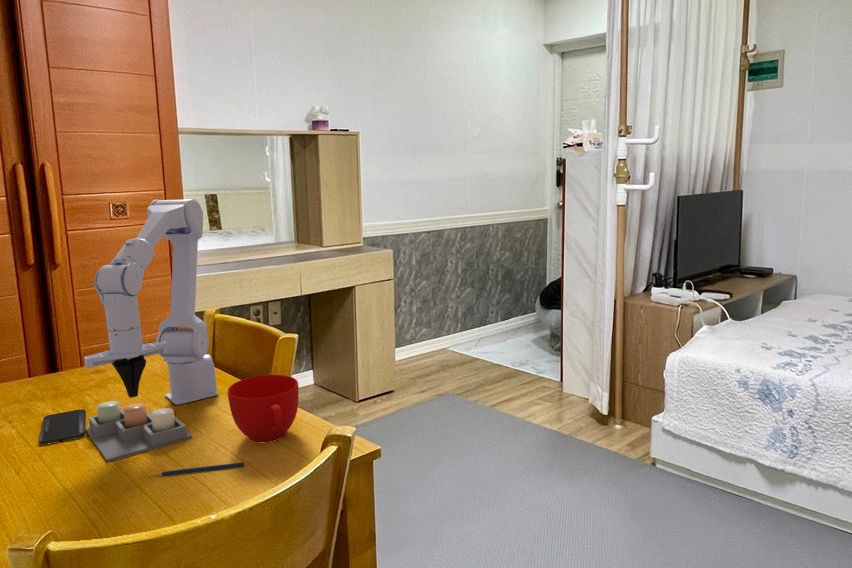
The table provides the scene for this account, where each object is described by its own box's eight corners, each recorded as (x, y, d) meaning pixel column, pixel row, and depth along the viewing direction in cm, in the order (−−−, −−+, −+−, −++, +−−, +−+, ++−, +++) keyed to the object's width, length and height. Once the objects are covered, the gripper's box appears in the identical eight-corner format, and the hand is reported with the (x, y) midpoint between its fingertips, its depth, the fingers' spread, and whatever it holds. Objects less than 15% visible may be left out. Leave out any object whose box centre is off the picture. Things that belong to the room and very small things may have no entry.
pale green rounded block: (118, 415, 133) (116, 399, 132) (123, 420, 129) (121, 405, 129) (96, 420, 130) (94, 404, 130) (101, 426, 127) (99, 410, 126)
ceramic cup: (245, 465, 113) (240, 410, 111) (226, 431, 128) (221, 382, 126) (317, 448, 119) (313, 396, 117) (291, 417, 134) (287, 370, 132)
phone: (85, 408, 141) (84, 433, 127) (86, 413, 141) (85, 438, 128) (43, 415, 137) (38, 442, 124) (44, 421, 137) (38, 447, 124)
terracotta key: (144, 417, 130) (142, 401, 129) (150, 423, 127) (148, 407, 126) (122, 422, 128) (120, 406, 127) (128, 429, 125) (126, 412, 124)
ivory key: (171, 422, 128) (169, 406, 127) (178, 428, 125) (176, 412, 124) (150, 428, 125) (148, 411, 125) (156, 434, 122) (154, 418, 122)
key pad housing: (163, 410, 139) (161, 399, 139) (192, 438, 125) (190, 425, 125) (85, 430, 130) (83, 418, 130) (107, 462, 116) (105, 448, 116)
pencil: (244, 468, 113) (151, 479, 110) (244, 466, 114) (153, 476, 111) (243, 463, 112) (151, 474, 110) (244, 461, 113) (152, 471, 111)
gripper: (86, 338, 116) (96, 411, 119) (170, 324, 125) (177, 391, 127) (78, 331, 122) (88, 400, 124) (159, 317, 130) (166, 382, 133)
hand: (132, 395), depth 126 cm, fingers closed
